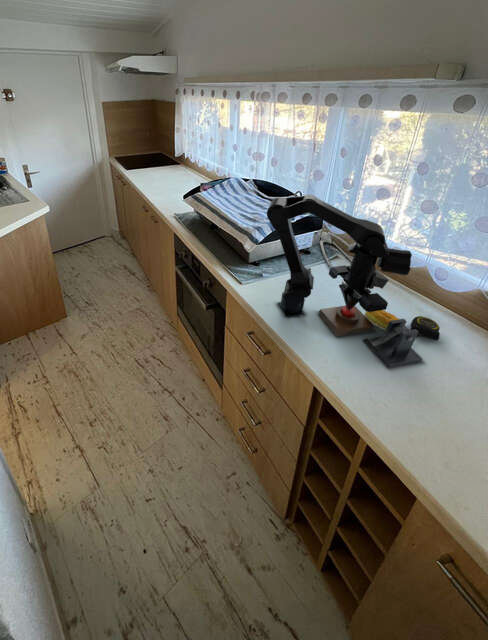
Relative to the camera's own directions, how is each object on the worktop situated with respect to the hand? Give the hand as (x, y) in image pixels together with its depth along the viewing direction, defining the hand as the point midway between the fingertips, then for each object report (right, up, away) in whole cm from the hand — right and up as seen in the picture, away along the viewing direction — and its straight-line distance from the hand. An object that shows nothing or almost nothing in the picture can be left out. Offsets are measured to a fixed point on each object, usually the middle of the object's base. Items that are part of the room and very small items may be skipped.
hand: (349, 308), depth 94 cm
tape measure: (+21, -7, -2) cm, 23 cm away
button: (0, -2, +1) cm, 2 cm away
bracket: (+8, -10, -8) cm, 15 cm away
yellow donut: (+11, -1, -2) cm, 11 cm away
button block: (0, -5, +3) cm, 6 cm away
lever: (+5, -6, -10) cm, 13 cm away
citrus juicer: (+12, +12, +27) cm, 32 cm away
